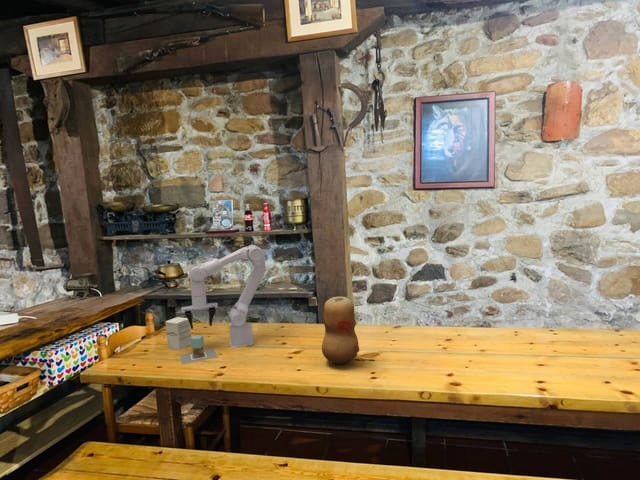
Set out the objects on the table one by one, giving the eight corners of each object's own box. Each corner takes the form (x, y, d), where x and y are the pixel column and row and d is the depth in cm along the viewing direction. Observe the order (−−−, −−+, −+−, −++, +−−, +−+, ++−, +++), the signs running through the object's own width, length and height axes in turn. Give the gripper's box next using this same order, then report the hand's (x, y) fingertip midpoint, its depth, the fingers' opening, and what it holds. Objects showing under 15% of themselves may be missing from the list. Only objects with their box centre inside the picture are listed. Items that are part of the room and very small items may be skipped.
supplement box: (167, 349, 183) (164, 321, 181) (180, 343, 189) (177, 316, 188) (179, 351, 179) (176, 323, 178) (192, 345, 186) (189, 318, 184)
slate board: (214, 349, 179) (213, 348, 179) (218, 358, 169) (218, 357, 169) (179, 356, 174) (179, 354, 174) (181, 365, 164) (181, 364, 164)
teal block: (204, 344, 173) (203, 335, 173) (200, 348, 169) (200, 338, 169) (194, 344, 173) (193, 335, 173) (191, 348, 169) (190, 338, 169)
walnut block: (202, 353, 174) (202, 344, 174) (204, 356, 171) (203, 347, 170) (192, 355, 173) (192, 345, 172) (194, 358, 169) (193, 349, 169)
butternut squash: (328, 372, 150) (324, 304, 148) (318, 359, 163) (315, 296, 160) (365, 366, 154) (362, 299, 151) (352, 353, 167) (349, 291, 164)
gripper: (214, 291, 183) (217, 321, 184) (179, 295, 177) (182, 327, 179) (217, 294, 176) (219, 325, 178) (181, 299, 171) (184, 331, 172)
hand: (201, 326), depth 178 cm, fingers open, 7 cm apart
